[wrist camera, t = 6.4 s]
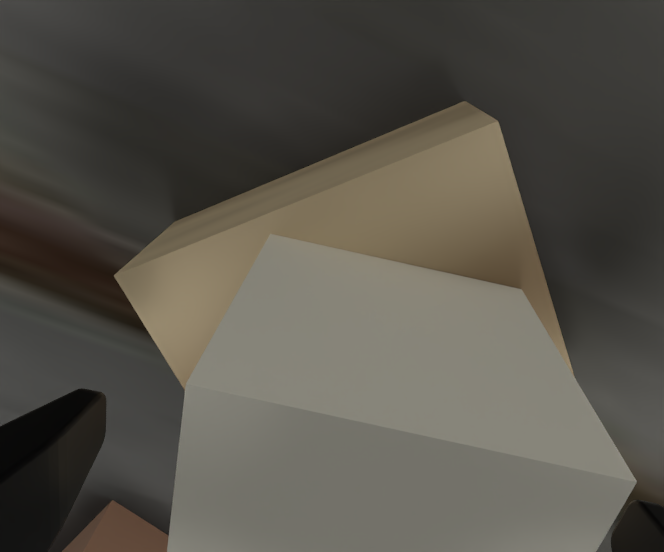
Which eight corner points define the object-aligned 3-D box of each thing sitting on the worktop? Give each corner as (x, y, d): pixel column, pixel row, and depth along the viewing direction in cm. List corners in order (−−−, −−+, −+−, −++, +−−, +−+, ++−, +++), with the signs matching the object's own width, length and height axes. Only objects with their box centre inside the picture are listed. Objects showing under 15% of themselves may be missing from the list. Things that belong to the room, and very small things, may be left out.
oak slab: (546, 364, 16) (600, 462, 12) (299, 437, 17) (279, 542, 14) (462, 99, 13) (498, 120, 9) (178, 217, 15) (113, 275, 11)
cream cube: (521, 289, 10) (636, 481, 6) (447, 479, 12) (489, 733, 8) (270, 233, 10) (185, 384, 6) (236, 433, 12) (154, 662, 8)
